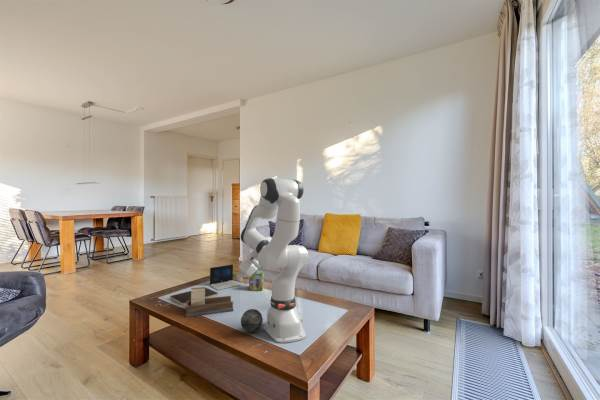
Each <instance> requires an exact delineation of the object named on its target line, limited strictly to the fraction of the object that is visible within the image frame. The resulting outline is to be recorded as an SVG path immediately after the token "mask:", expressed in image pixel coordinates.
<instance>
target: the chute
mask: <svg viewBox="0 0 600 400" xmlns="http://www.w3.org/2000/svg"><path fill="white" fill-rule="evenodd" d="M185 305H186V306H185V318H190V317H191V318H192V317H196V316H197V317H198V316H207V315H211V314H212V315H213V314H220V313H221V314H222V313H228V312H229V313H230V312H234V302H233V300H232V296H231V295H226V296H225V295H224V296H214V297H210V298H205V304H203V305H194V306H191V300H187V303H186V304H185Z"/></svg>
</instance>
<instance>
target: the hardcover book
mask: <svg viewBox="0 0 600 400" xmlns="http://www.w3.org/2000/svg"><path fill="white" fill-rule="evenodd" d="M204 287H205V298H214V297H218V293H219V292H217V291H215V290H212V289H210V288H208V287H206V286H204ZM169 298H171V300H173V301H174V300H175V302H176V303H178V304H180V305H181V306H185V305H186V303H187V300H191V290H188V291H186V292H181V293H177V294H172V295H170V297H169Z"/></svg>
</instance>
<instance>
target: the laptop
mask: <svg viewBox="0 0 600 400" xmlns="http://www.w3.org/2000/svg"><path fill="white" fill-rule="evenodd" d="M238 286H239V287H240V286H241V283H239V282H236V281H234V264H226V265H219V266H213V267H209V287H211V288H213V289H215V290H217V291H219V290H224V289H229V288H234V287H238Z"/></svg>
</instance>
